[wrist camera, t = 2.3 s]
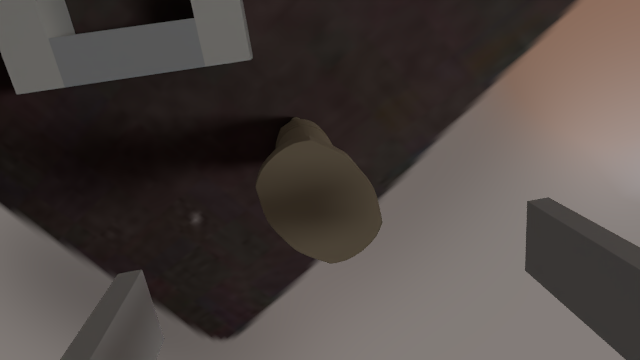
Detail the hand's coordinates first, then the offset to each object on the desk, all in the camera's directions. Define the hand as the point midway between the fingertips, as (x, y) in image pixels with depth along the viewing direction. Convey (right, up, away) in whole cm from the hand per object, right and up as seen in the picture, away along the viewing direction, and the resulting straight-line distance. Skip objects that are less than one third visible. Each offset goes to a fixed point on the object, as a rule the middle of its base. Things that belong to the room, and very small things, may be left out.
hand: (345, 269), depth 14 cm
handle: (-3, +7, +19) cm, 21 cm away
